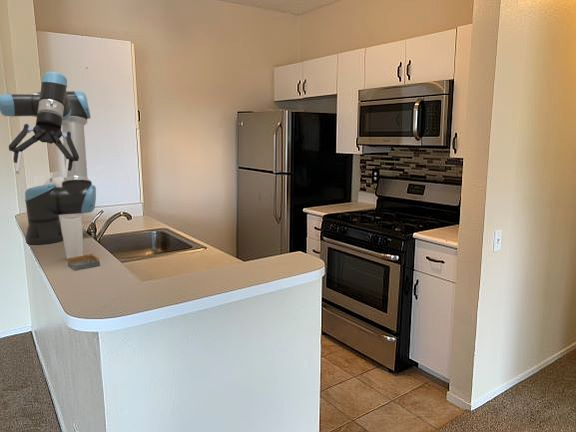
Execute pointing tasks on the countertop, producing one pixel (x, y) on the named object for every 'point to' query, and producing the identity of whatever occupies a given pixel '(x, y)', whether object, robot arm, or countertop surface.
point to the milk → (57, 180)
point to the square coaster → (83, 262)
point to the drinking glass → (72, 235)
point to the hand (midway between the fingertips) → (41, 175)
